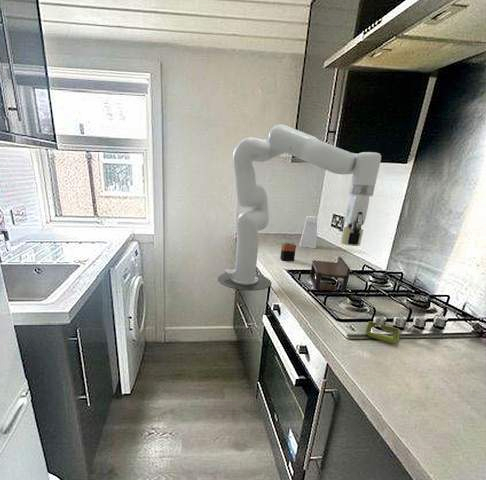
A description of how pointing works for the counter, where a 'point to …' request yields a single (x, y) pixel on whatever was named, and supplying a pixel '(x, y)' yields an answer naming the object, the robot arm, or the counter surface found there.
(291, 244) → the battery
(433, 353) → the counter surface
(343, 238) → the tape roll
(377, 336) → the green square frame
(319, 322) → the counter surface
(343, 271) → the rack
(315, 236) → the grater
